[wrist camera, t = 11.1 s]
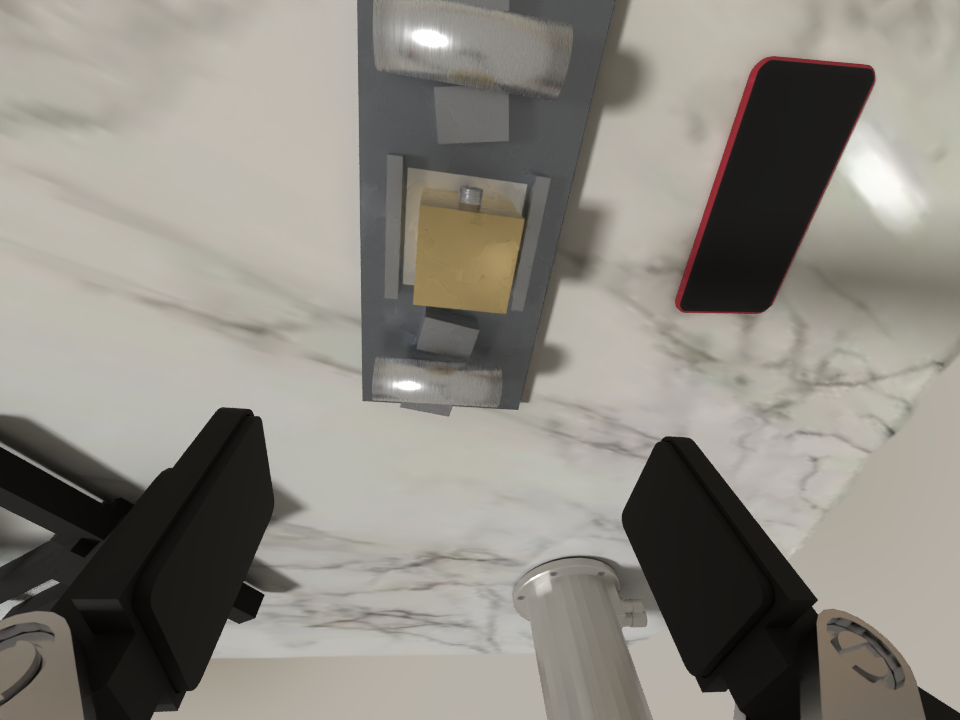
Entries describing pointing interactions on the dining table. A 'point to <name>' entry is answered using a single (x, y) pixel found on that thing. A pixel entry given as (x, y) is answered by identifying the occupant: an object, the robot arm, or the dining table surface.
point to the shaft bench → (465, 177)
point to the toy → (66, 537)
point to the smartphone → (771, 180)
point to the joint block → (466, 250)
